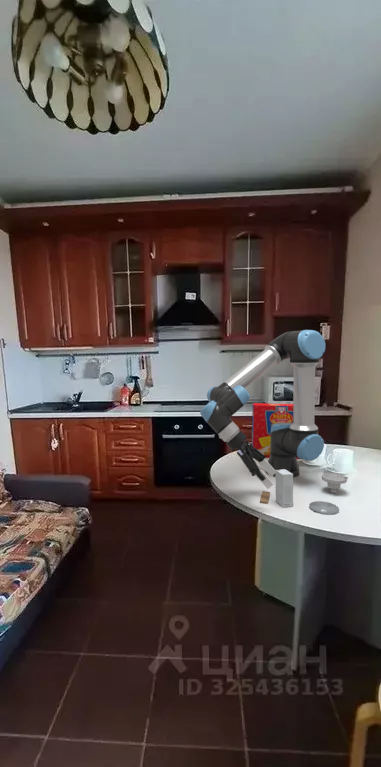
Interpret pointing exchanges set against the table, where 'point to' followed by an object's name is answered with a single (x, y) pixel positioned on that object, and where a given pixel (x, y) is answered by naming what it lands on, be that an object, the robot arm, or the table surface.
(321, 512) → the coaster
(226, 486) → the table surface
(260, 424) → the pasta box
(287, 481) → the skincare box
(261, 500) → the walnut board
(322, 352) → the robot arm
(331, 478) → the showerhead
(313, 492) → the table surface
